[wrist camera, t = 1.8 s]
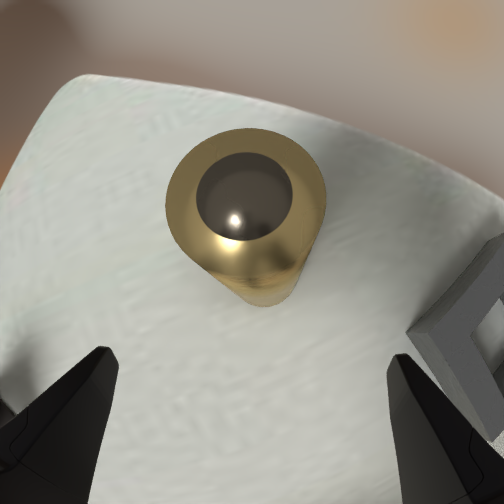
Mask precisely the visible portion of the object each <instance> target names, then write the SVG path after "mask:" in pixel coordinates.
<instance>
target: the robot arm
mask: <svg viewBox="0 0 504 504" xmlns="http://www.w3.org/2000/svg"><path fill="white" fill-rule="evenodd" d="M118 369H119V364H118V361H117V359H116V357H115V355H114V354H113V352H112V350H111V348H109V347H105V346H98V347H96V348H95V349H94V350H93V351H92V352H90V353H89V354H88V355H87V356H86V357H84V358H83V359H82V360H81V361H80V362H79V363H77V364H76V365H75V366H74V367H73V368H71V369H70V370H69V371H68V372H67V373H66V374H64V375H63V376H62V377H61V378H60V379H58V380H57V381H56V382H55V383H54V384H53V385H51V386H50V387H49V388H48V389H47V390H46V391H44V392H43V393H42V394H41V395H40V396H39V397H38V398H36V399H35V400H34V401H33V402H32V403H31V404H29V406H27V407H26V408H25V409H24V410H22V411H21V412H20V413H19V414H18V415H17V416H15V417H14V418H13V419H12V420H10V421H9V422H8V423H6V424H5V425H4V426H2V427H1V428H0V504H88V503H87V502H88V499H89V494H90V489H91V485H92V480H93V476H94V471H95V467H96V463H97V459H98V455H99V451H100V447H101V443H102V439H103V435H104V432H105V428H106V424H107V421H108V417H109V414H110V410H111V406H112V401H113V396H114V390H115V385H116V380H117V374H118ZM387 385H388V397H389V410H390V420H391V426H392V431H393V437H394V443H395V449H396V456H397V462H398V469H399V477H400V485H401V493H402V502H403V504H504V458H503V457H502V456H501V455H499V454H498V453H497V452H496V451H495V450H494V449H493V448H492V447H491V446H490V445H489V444H488V443H487V441H486V440H485V439H484V438H483V437H482V436H481V435H480V434H479V433H478V431H477V430H476V429H475V428H474V427H472V425H471V423H470V422H469V421H468V420H467V419H466V418H465V417H464V415H463V414H462V413H461V412H460V411H459V410H458V409H457V407H456V406H455V405H454V404H453V403H452V402H451V401H450V400H449V398H448V397H447V396H446V395H445V394H444V393H443V392H442V391H441V390H440V389H439V387H438V386H437V385H436V384H435V383H434V382H433V381H432V380H431V379H430V378H429V376H428V375H427V374H426V373H425V372H424V371H423V370H422V369H421V368H420V367H419V366H418V365H417V364H416V362H415V361H414V360H413V359H412V358H411V357H410V356H409V355H408V354H406V353H403V354H395V355H394V356H393V358H392V361H391V363H390V365H389V367H388V370H387Z"/></svg>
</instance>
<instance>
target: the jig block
mask: <svg viewBox="0 0 504 504" xmlns="http://www.w3.org/2000/svg"><path fill="white" fill-rule="evenodd" d="M499 297H500V299H501V301H502V302H503V304H504V233H503V234H501V235H499V236H497V237H495V238H493V239H491V240H489V241H488V242H487V243H486V245H485V246H484V247H483V249H482V250H481V251H480V252H479V254H478V255H477V256H476V257H475V259H474V260H473V261H472V262H471V264H470V265H469V266H468V267H467V268H466V270H465V271H464V272H463V273H462V274H461V275H460V277H459V278H458V279H457V280H456V281H455V282H454V283H453V285H452V286H451V287H450V288H449V289H448V290H447V291H446V292H445V293H444V294H443V296H442V297H441V298H440V299H439V300H438V301H437V302H436V303H435V304H434V305H433V306H432V307H431V308H430V309H429V310H428V311H427V312H426V313H425V314H424V315H423V316H422V317H421V318H420V319H419V320H418V321H417V322H416V323H415V324H414V325H413V326H412V327H411V328H410V329H409V330H408V331H407V332H406V334H407V335H408V337H409V338H410V340H411V341H412V343H413V344H414V346H415V347H416V349H417V350H418V351H419V353H420V354H421V356H422V357H423V359H424V360H425V362H426V363H427V365H428V366H429V368H430V369H431V371H432V373H433V374H434V376H435V377H436V379H437V380H438V382H439V383H440V385H441V387H442V388H443V390H444V391H445V393H446V395H447V396H448V398H449V399H450V401H451V402H452V403H453V404H454V405H455V406H456V407H457V409H458V410H459V411H460V412H461V413H462V414H463V415H464V417H465V418H466V419H467V420H468V421H469V422H470V423H471V425H472V427H474V428H475V429H476V430H477V431H478V433H479V434H480V435H481V436H482V437H483V438H484V439H485V440H487V441H489V442H493V441H494V440H495V439H496V438H497V437H498V436H499V434H500V433H501V432H502V431H503V430H504V361H503V362H502V364H501V365H500V366H499V368H498V369H497V370H496V372H495V373H494V374H493V375H492V374H491V372H490V370H489V368H488V367H487V365H486V363H485V361H484V359H483V357H482V356H481V354H480V352H479V350H478V348H477V347H476V345H475V343H474V341H473V340H472V338H471V336H470V334H471V333H472V332H473V331H474V330H475V328H476V327H477V326H478V325H479V323H480V322H481V321H482V320H483V318H484V317H485V316H486V314H487V313H488V312H489V311H490V309H491V308H492V307H493V305H494V304H495V302H496V301H497V300H498V298H499Z"/></svg>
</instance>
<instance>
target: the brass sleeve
mask: <svg viewBox="0 0 504 504" xmlns="http://www.w3.org/2000/svg"><path fill="white" fill-rule="evenodd" d="M165 208H166V217H167V222H168V226H169V228H170V231H171V234H172V236H173V237H174V239H175V241H176V243H177V244H178V245H179V247H180V248H181V249H182V251H183V252H185V253H186V254H187V255H188V256H189V257H190V258H191V259H192V260H193V261H195V262H196V263H197V264H198V265H200V266H201V267H202V268H203V269H205V270H206V271H207V272H208V273H210V274H211V275H212V276H213V277H215V278H216V279H217V280H218V281H220V282H221V283H222V284H223V285H225V286H226V287H227V288H229V289H230V290H231V291H232V292H234V293H235V294H236V295H238V296H239V297H240V298H241V299H243V300H244V301H246V302H247V303H249V304H251V305H254V306H258V307H270V306H274V305H277V304H279V303H281V302H282V301H284V300H285V299H286V298H287V297H288V296H289V295H290V293H291V292H292V290H293V288H294V286H295V284H296V282H297V280H298V277H299V275H300V273H301V271H302V268H303V266H304V264H305V262H306V259H307V257H308V255H309V253H310V250H311V248H312V246H313V243H314V241H315V239H316V236H317V234H318V232H319V229H320V227H321V225H322V221H323V218H324V215H325V209H326V190H325V184H324V181H323V177H322V174H321V172H320V170H319V168H318V166H317V164H316V163H315V161H314V160H313V158H312V157H311V156H310V155H309V154H308V152H307V151H305V150H304V149H303V148H302V147H301V146H300V145H299V144H297V143H296V142H294V141H293V140H291V139H289V138H287V137H285V136H284V135H281V134H278V133H276V132H272V131H268V130H263V129H256V128H244V129H235V130H230V131H226V132H222V133H219V134H217V135H214V136H212V137H210V138H208V139H206V140H205V141H203V142H201V143H200V144H198V145H197V146H196V147H194V148H193V149H192V150H191V151H190V152H189V153H188V154H187V155H186V156H185V157H184V158H183V159H182V161H181V162H180V163H179V165H178V166H177V168H176V169H175V171H174V173H173V175H172V177H171V180H170V182H169V185H168V189H167V194H166V204H165Z"/></svg>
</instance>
